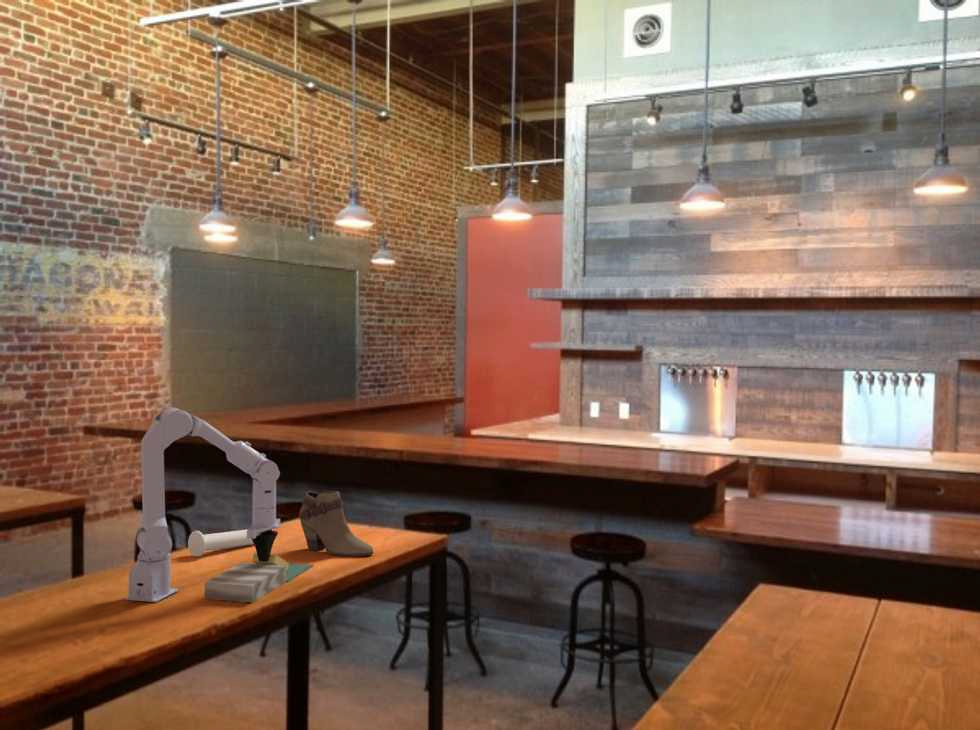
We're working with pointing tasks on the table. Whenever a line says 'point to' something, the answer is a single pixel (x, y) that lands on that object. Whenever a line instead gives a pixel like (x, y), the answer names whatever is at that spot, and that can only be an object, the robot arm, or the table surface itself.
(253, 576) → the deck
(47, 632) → the table surface
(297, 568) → the mat
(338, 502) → the boot
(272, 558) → the yellow rectangular block
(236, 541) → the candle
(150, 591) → the robot arm
